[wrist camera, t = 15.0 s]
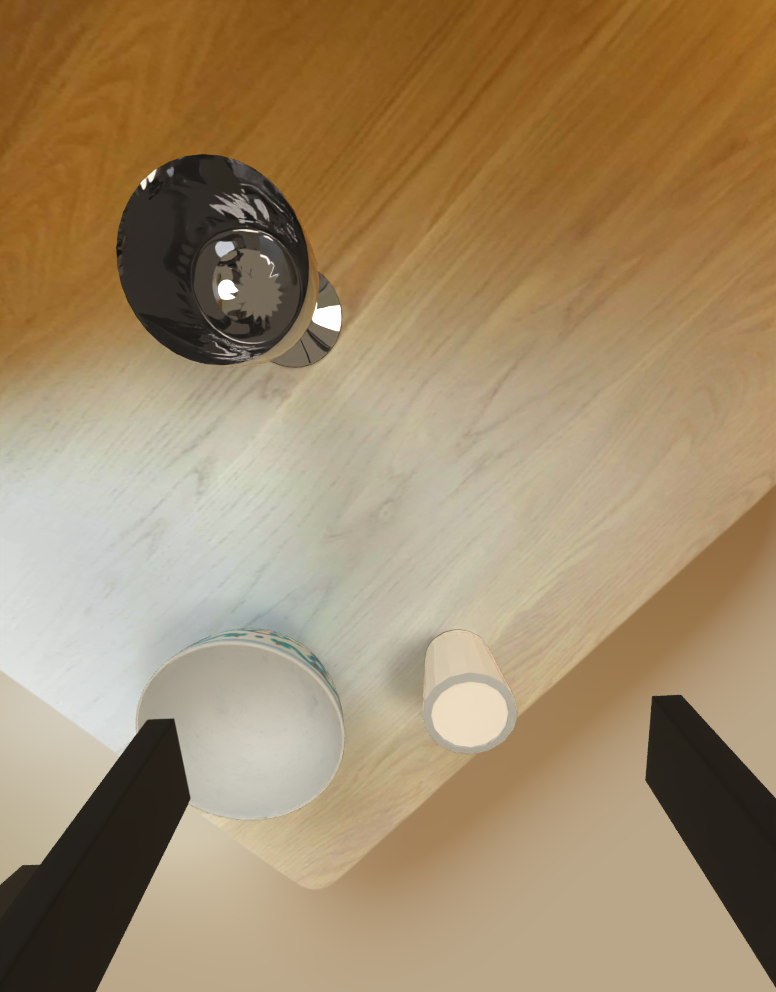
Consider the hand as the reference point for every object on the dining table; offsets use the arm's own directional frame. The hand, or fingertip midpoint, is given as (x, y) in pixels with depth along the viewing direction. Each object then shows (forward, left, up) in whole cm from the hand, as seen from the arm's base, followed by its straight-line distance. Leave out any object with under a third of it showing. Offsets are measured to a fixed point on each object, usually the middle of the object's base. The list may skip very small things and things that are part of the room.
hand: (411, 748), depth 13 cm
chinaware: (+14, -12, -25) cm, 31 cm away
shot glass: (+14, +4, -25) cm, 29 cm away
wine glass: (-15, -7, -25) cm, 30 cm away
